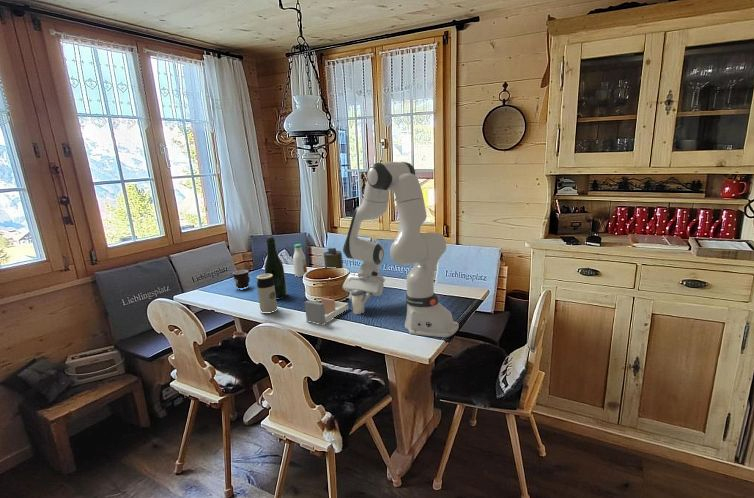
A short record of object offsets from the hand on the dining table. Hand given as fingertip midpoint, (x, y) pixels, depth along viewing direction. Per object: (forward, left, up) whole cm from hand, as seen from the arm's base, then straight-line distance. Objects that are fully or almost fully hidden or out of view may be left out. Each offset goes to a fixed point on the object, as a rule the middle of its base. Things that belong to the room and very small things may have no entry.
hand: (357, 301), depth 188 cm
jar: (0, -1, -6) cm, 6 cm away
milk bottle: (+67, -37, -6) cm, 77 cm away
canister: (+39, -35, -6) cm, 52 cm away
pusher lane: (+11, +8, -6) cm, 15 cm away
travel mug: (+42, +15, -6) cm, 45 cm away
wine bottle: (+53, -2, -6) cm, 53 cm away
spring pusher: (+11, +8, -5) cm, 14 cm away
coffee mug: (+82, -4, -6) cm, 82 cm away
